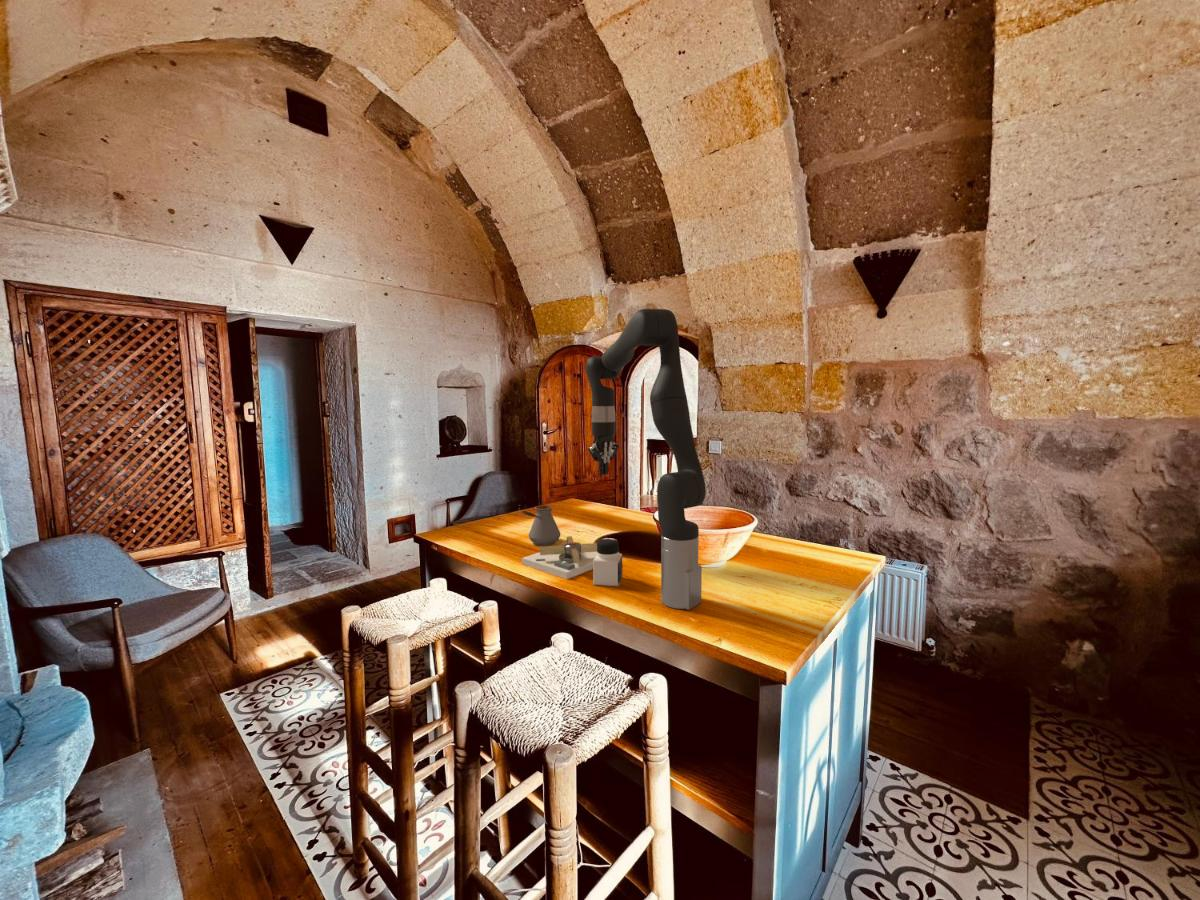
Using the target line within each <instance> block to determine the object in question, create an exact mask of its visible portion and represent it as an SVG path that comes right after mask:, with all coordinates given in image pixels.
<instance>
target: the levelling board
mask: <svg viewBox="0 0 1200 900" xmlns="http://www.w3.org/2000/svg"><path fill="white" fill-rule="evenodd" d="M559 555H561V554H553V555H540V551H539V552H536V553H533V554H530V555H527V556H525V557H524V556H523V557H522V558H521V564H522V565H524V566H526V567H529V568H532V569H534V570H538V571H541V572H544V573H547V574H550V575H554V576H556V577H560V578H561V579H566V580H568V579H571V578H574V577H576V576H578V575H582V574H584V573H586V572H588V571H592V570H593V560H594V559H595V557H596V556H597V552H583V553H581V556H582V558H581V560H579V563H574V562H566V561H562V560H559Z"/></svg>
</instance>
